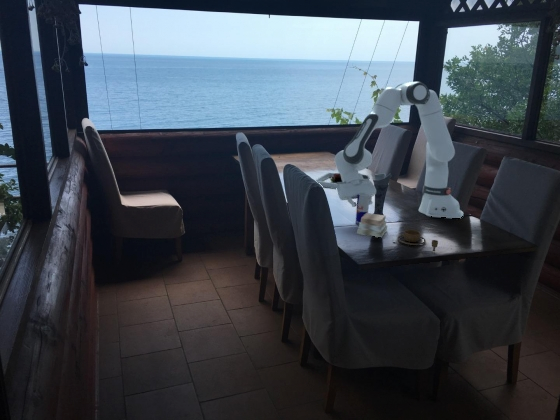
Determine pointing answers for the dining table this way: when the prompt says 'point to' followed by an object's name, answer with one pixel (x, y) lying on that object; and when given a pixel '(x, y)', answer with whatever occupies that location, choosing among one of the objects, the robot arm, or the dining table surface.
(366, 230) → the stacked square slabs
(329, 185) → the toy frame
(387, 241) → the dining table surface
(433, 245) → the place setting
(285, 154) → the dining table surface
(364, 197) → the beverage can
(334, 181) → the fire station toy set
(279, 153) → the dining table surface
